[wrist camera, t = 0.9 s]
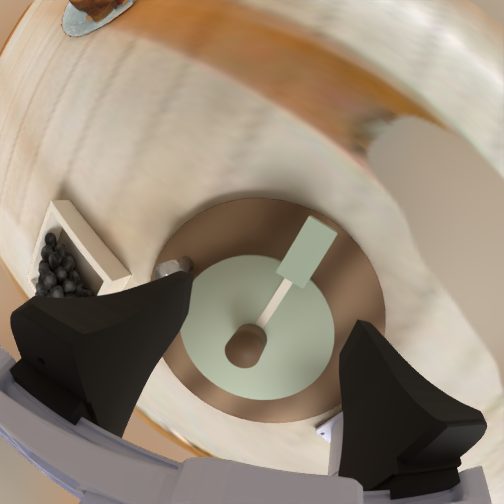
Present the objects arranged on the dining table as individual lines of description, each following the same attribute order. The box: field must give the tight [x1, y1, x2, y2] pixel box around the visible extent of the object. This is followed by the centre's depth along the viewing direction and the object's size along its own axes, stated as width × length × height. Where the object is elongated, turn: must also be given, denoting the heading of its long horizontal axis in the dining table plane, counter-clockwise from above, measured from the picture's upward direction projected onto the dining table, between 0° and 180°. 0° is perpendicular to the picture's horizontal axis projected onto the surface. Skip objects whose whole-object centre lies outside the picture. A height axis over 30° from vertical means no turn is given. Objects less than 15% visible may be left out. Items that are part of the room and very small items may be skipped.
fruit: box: [35, 232, 93, 298], centre depth 30 cm, size 9×8×15 cm
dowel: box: [155, 256, 193, 279], centre depth 26 cm, size 2×2×5 cm
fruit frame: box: [27, 200, 131, 296], centre depth 32 cm, size 15×15×4 cm
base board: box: [150, 198, 385, 423], centre depth 25 cm, size 25×25×6 cm
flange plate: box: [180, 216, 338, 400], centre depth 24 cm, size 20×15×4 cm
